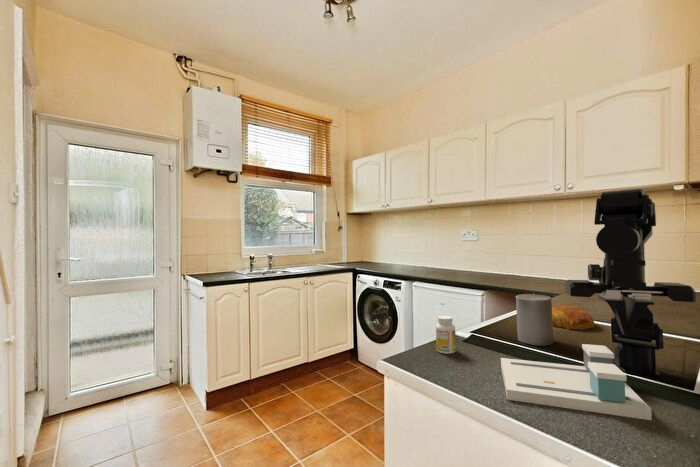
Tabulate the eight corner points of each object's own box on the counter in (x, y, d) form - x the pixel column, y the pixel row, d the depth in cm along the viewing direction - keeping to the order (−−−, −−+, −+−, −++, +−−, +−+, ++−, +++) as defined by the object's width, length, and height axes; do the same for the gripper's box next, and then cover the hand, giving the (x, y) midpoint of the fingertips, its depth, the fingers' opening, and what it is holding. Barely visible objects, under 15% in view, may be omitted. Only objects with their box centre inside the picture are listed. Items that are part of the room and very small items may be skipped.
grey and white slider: (605, 367, 74) (604, 345, 74) (614, 377, 69) (614, 353, 69) (582, 365, 76) (581, 343, 76) (590, 374, 71) (589, 351, 71)
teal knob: (615, 390, 64) (614, 364, 64) (627, 403, 59) (626, 375, 59) (588, 386, 65) (587, 361, 65) (597, 399, 60) (596, 372, 60)
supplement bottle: (449, 346, 97) (448, 314, 97) (459, 352, 92) (458, 318, 92) (433, 348, 96) (432, 315, 96) (442, 355, 91) (441, 320, 91)
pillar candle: (545, 336, 105) (543, 289, 105) (559, 346, 95) (557, 295, 95) (513, 336, 106) (511, 290, 107) (523, 345, 97) (521, 295, 97)
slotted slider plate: (612, 378, 74) (611, 368, 74) (651, 420, 57) (651, 408, 57) (500, 365, 82) (500, 357, 82) (507, 399, 66) (506, 389, 66)
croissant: (538, 326, 124) (534, 305, 125) (579, 319, 124) (575, 298, 124) (561, 336, 110) (556, 313, 110) (607, 329, 109) (603, 306, 110)
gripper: (665, 252, 67) (668, 328, 67) (559, 252, 75) (561, 320, 74) (696, 255, 57) (699, 344, 57) (570, 254, 65) (572, 333, 64)
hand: (625, 334), depth 63 cm, fingers closed
